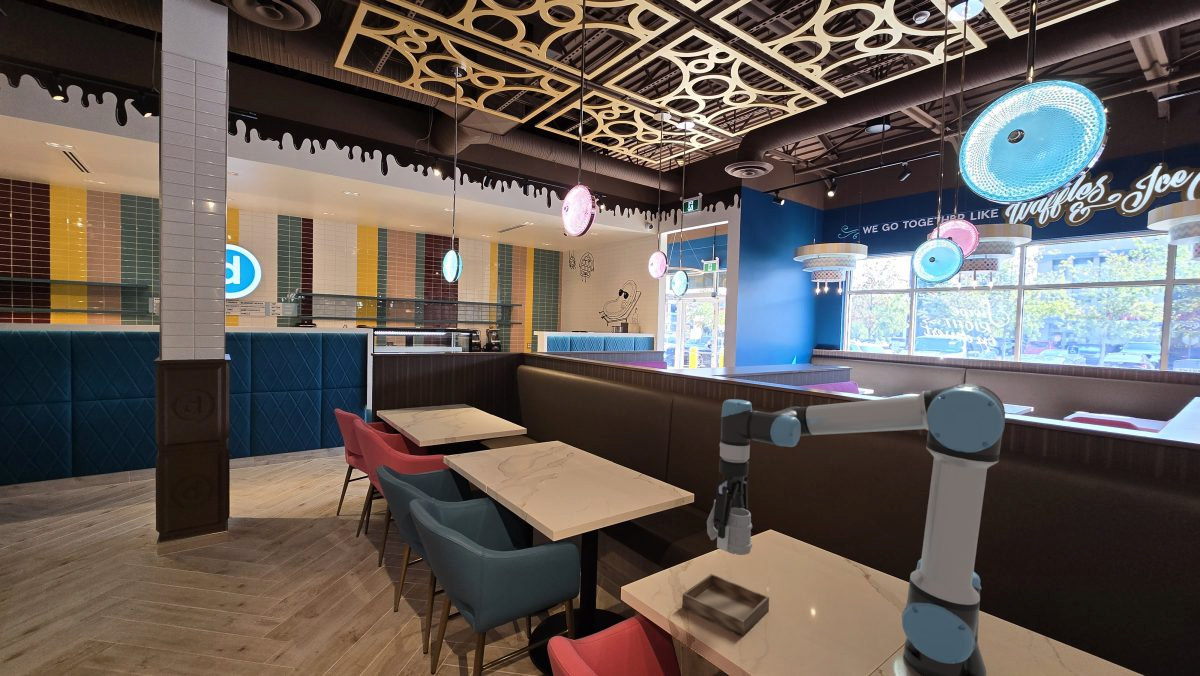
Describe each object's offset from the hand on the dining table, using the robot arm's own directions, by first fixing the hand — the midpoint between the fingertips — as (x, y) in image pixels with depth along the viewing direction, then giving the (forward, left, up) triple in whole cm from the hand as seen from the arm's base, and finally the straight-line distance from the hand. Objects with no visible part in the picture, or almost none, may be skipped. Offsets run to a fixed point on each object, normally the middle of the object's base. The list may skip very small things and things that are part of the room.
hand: (729, 544), depth 129 cm
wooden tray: (0, 0, -18) cm, 18 cm away
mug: (0, +1, -1) cm, 1 cm away
